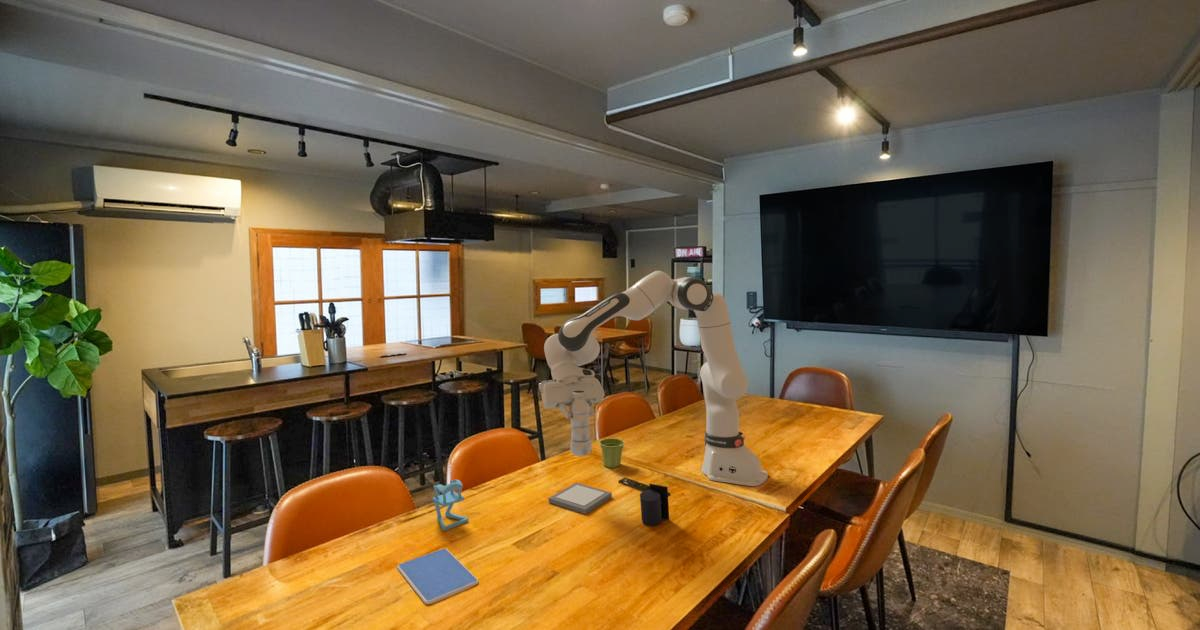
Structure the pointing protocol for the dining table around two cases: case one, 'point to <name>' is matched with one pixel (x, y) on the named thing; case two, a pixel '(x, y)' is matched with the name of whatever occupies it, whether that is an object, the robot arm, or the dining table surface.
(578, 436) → the plastic bottle
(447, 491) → the chair
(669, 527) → the dining table surface
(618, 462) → the plant pot
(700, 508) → the dining table surface
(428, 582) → the tablet computer
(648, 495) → the speaker
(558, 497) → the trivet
